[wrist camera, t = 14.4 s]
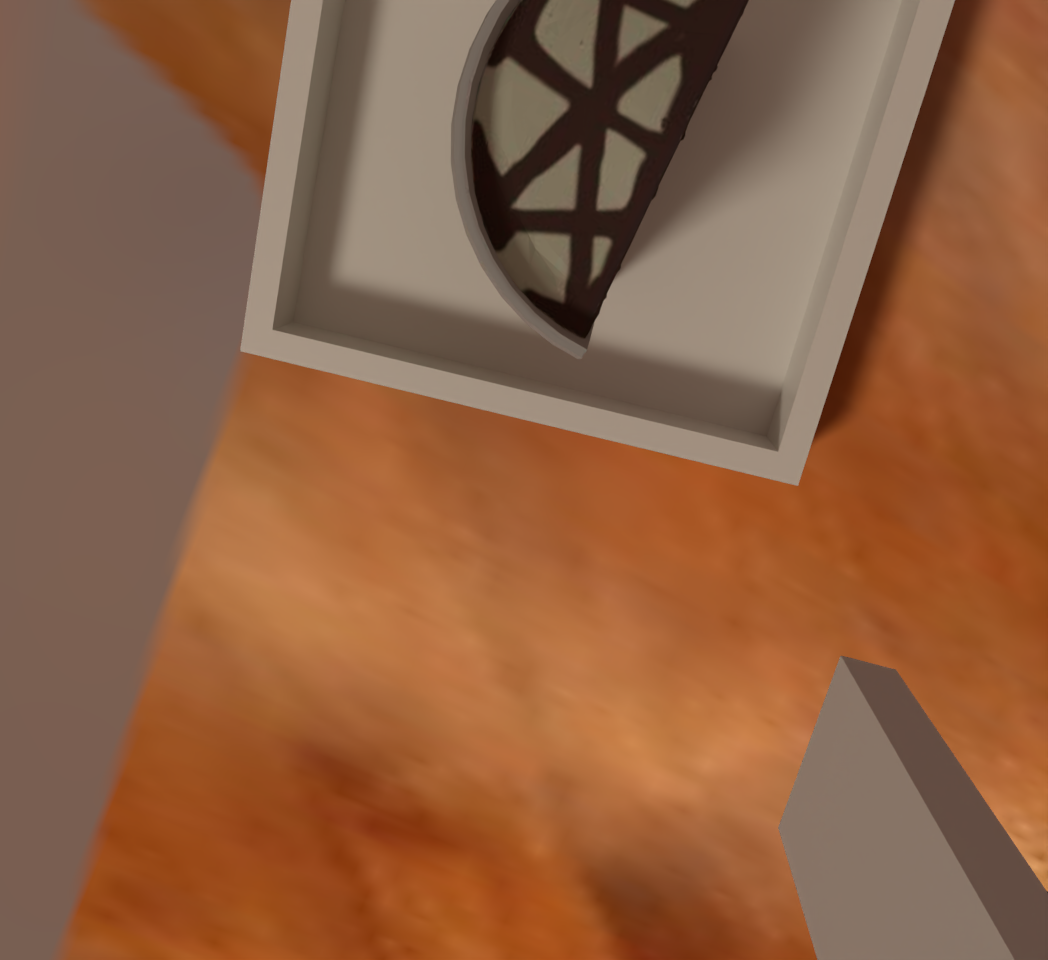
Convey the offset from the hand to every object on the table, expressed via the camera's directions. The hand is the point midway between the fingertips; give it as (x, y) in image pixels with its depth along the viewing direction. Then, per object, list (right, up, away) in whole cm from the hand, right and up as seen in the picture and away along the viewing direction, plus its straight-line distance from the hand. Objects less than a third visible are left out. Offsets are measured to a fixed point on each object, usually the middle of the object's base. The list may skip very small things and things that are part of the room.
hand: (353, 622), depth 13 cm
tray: (+5, +14, +20) cm, 25 cm away
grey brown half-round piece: (+4, +14, +20) cm, 25 cm away
